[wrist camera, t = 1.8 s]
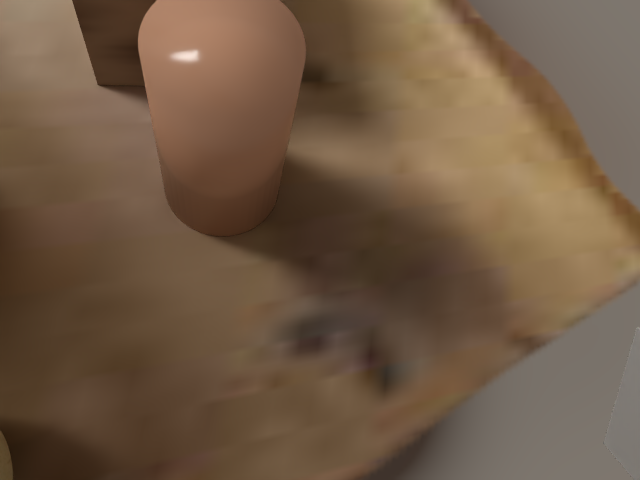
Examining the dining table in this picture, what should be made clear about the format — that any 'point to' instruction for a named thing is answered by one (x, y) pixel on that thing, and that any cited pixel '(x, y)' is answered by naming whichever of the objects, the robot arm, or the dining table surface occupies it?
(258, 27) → the dome-topped peach cylinder
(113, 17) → the walnut crate
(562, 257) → the dining table surface
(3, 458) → the apple
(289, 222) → the dining table surface
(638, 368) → the robot arm
